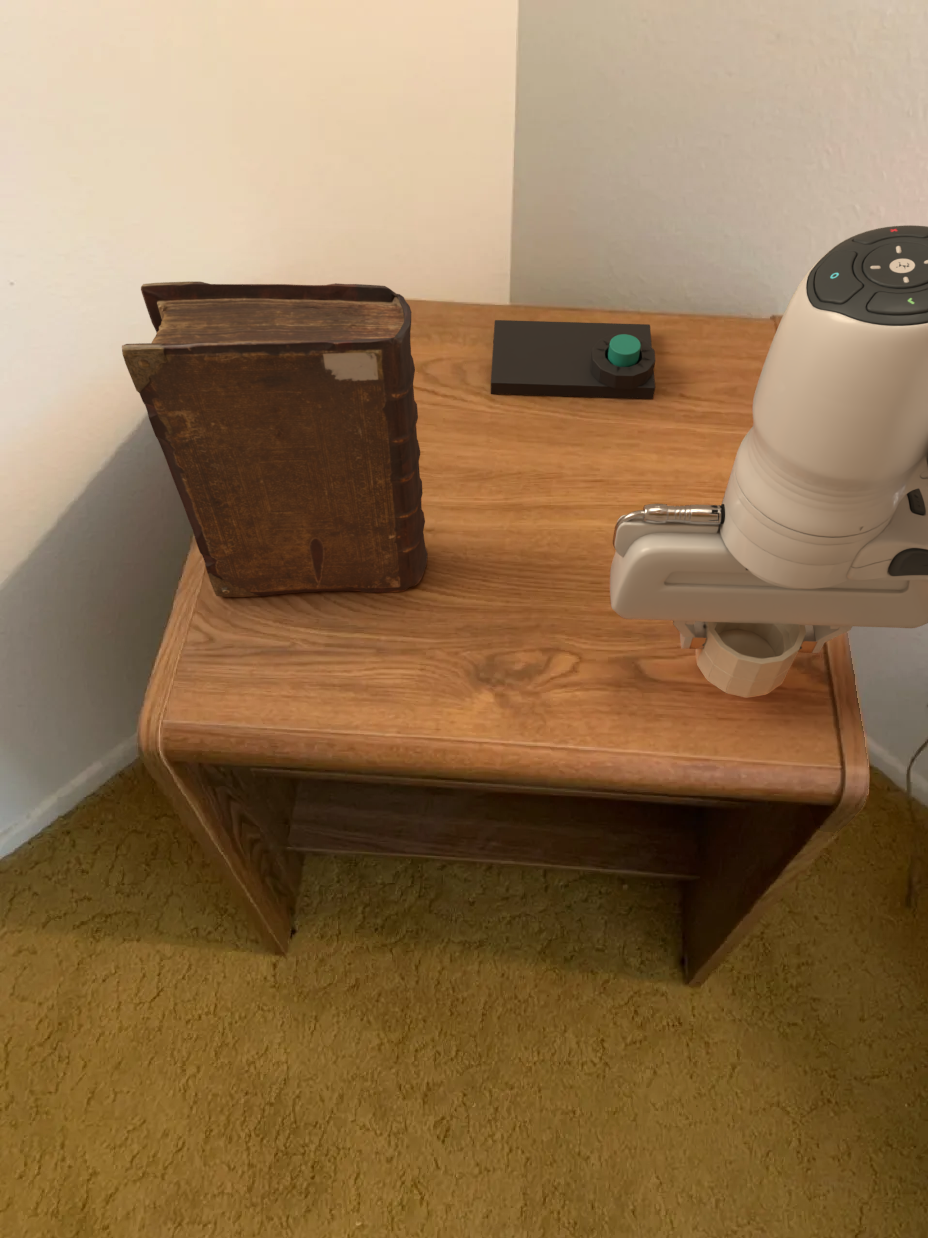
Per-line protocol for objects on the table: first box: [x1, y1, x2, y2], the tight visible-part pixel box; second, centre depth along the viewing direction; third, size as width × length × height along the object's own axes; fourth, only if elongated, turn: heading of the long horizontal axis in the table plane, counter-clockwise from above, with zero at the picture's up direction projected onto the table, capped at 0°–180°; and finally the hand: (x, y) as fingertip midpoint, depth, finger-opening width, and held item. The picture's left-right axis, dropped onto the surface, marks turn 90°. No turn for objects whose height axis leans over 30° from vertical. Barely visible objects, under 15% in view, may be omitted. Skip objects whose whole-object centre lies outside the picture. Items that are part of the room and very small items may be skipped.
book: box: [121, 281, 429, 598], centre depth 64 cm, size 17×7×25 cm, turn 85°
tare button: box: [608, 334, 641, 367], centre depth 84 cm, size 3×3×2 cm
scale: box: [490, 319, 656, 400], centre depth 87 cm, size 15×9×3 cm, turn 87°
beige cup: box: [694, 622, 806, 699], centre depth 64 cm, size 6×6×5 cm
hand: (748, 642), depth 64 cm, fingers closed on beige cup, 6 cm apart
